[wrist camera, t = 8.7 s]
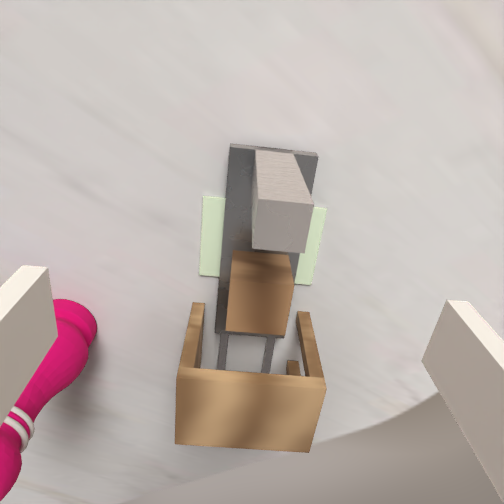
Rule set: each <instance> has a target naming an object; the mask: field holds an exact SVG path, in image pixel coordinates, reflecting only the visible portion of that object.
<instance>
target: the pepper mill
mask: <svg viewBox="0 0 504 504" xmlns="http://www.w3.org/2000/svg"><path fill="white" fill-rule="evenodd" d="M53 305H54V311H55V318H56V325H57V331H58V337H57V338H56V340H55V342H54V343H53V345H52V346H51V348H50V349H49V351H48V353H47V354H46V356H45V357H44V359H43V360H42V362H41V364H40V365H39V367H38V368H37V370H36V371H35V373H34V375H33V376H32V378H31V379H30V381H29V382H28V384H27V386H26V387H25V389H24V390H23V392H22V393H21V395H20V397H19V398H18V400H17V401H16V403H15V404H14V406H13V408H12V409H11V411H10V412H9V414H8V415H7V417H6V419H5V420H4V422H3V423H2V425H1V426H0V501H1V500H2V499H3V498H4V497H5V496H6V494H7V493H8V492H9V491H10V490H11V488H12V487H13V485H14V483H15V482H16V480H17V478H18V475H19V473H20V470H21V466H22V460H21V454H20V453H22V452H23V451H24V450H25V449H26V447H27V445H28V441H29V440H30V439H31V438H32V436H33V434H34V424H33V423H34V421H35V418H36V417H37V415H38V414H39V412H40V411H41V409H42V408H43V406H44V405H45V404H46V403H47V402H48V401H49V400H50V399H51V398H52V397H53V396H55V395H56V394H57V393H59V392H60V391H62V390H63V389H64V388H66V387H67V386H69V385H70V384H71V383H72V382H73V381H74V380H75V379H76V378H77V377H78V376H79V374H80V373H81V371H82V370H83V368H84V367H85V365H86V362H87V359H88V347H89V346H90V344H91V342H92V340H93V339H94V337H95V334H96V330H97V325H96V322H95V319H94V317H93V316H92V314H91V313H90V312H89V311H88V310H87V309H86V308H85V307H83V306H82V305H80V304H78V303H76V302H74V301H70V300H66V299H56V300H53Z"/></svg>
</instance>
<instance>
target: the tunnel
mask: <svg viewBox="0 0 504 504" xmlns="http://www.w3.org/2000/svg"><path fill="white" fill-rule="evenodd" d="M204 307H205V303H195V302H193V304H192V309H191V313H190V318H189V323H188V327H187V332H186V336H185V341H184V346H183V350H182V355H181V359H180V364H179V369H178V373H177V378H176V416H175V444H180V445H196V446H212V447H228V448H243V449H259V450H275V451H290V452H306V453H309V451H310V447H311V444H312V440H313V437H314V433H315V429H316V426H317V422H318V419H319V415H320V411H321V408H322V404H323V401H324V397H325V393H326V390H327V388H326V384H325V380H324V375H323V371H322V366H321V362H320V358H319V353H318V349H317V344H316V340H315V335H314V331H313V327H312V322H311V318H310V313H309V312H301V311H298V313H297V318H296V324H297V330H298V336H299V341H300V347H301V353H302V359H303V365H304V371H305V376H301V374H300V368H299V362H298V361H288V362H287V367H286V371H287V375H279V374H266V373H252V372H239V371H226V370H212V369H200V365H201V354H202V339H203V323H204Z"/></svg>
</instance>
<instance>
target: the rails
mask: <svg viewBox="0 0 504 504" xmlns="http://www.w3.org/2000/svg"><path fill="white" fill-rule="evenodd" d="M227 342H228V334H224V333H221V336H220V347H219V358H218V369H217V370H225V362H226V352H227ZM274 343H275V338H274V337H267V342H266V348H265V354H264V360H263V366H262V373H266V374H269V372H270V366H271V360H272V355H273V349H274Z"/></svg>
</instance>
